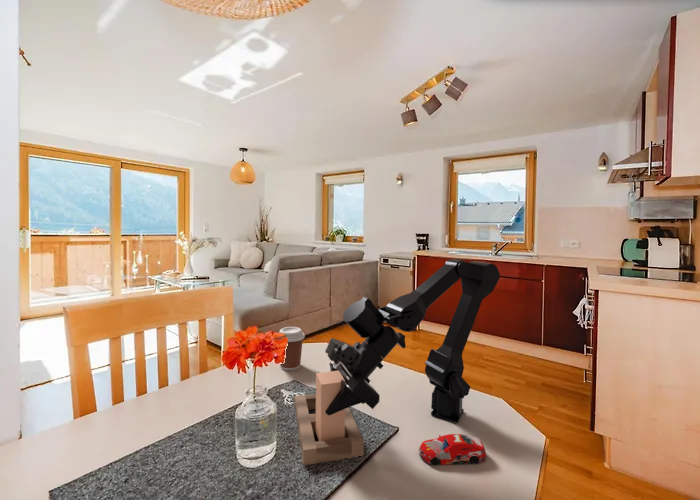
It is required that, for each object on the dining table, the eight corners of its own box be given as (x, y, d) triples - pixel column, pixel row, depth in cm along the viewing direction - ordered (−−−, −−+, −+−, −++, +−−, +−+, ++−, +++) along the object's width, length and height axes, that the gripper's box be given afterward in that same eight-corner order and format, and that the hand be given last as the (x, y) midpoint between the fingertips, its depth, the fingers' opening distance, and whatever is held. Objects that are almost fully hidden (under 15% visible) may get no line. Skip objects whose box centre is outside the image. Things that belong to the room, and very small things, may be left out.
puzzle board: (294, 407, 85) (294, 395, 84) (341, 402, 87) (341, 391, 87) (303, 465, 64) (303, 450, 64) (363, 456, 67) (364, 441, 67)
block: (337, 426, 74) (338, 370, 73) (344, 441, 69) (345, 381, 68) (315, 430, 73) (316, 373, 71) (320, 446, 68) (321, 384, 67)
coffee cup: (280, 374, 103) (281, 336, 103) (272, 363, 111) (272, 327, 110) (308, 368, 108) (309, 331, 107) (298, 358, 116) (299, 324, 115)
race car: (422, 468, 64) (423, 448, 64) (415, 449, 70) (416, 431, 70) (489, 466, 65) (490, 446, 65) (477, 448, 71) (478, 429, 70)
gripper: (336, 314, 79) (289, 365, 77) (365, 340, 62) (305, 408, 59) (367, 344, 82) (322, 394, 80) (402, 376, 65) (347, 442, 62)
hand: (323, 407), depth 70 cm, fingers closed on block, 5 cm apart
